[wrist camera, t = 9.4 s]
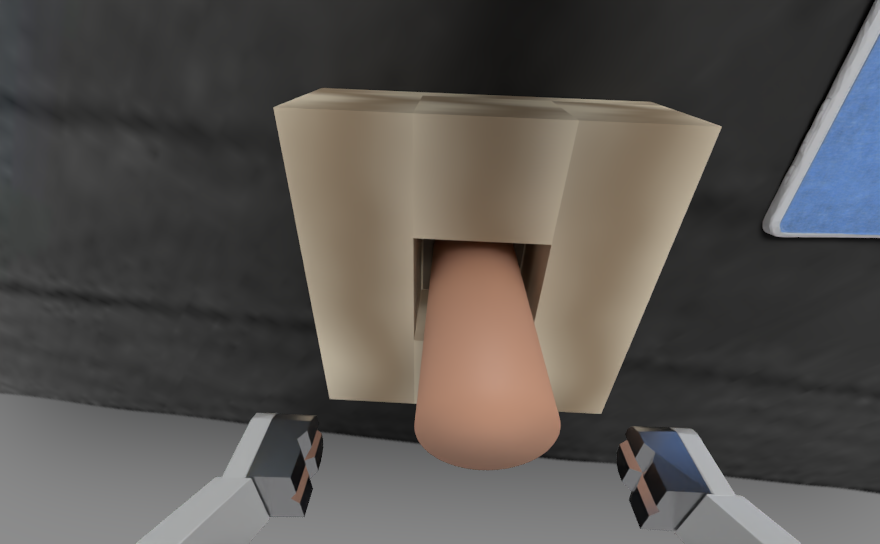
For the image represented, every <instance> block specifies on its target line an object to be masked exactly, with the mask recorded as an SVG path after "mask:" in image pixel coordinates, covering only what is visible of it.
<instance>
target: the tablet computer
mask: <svg viewBox="0 0 880 544" xmlns="http://www.w3.org/2000/svg"><path fill="white" fill-rule="evenodd" d="M762 228H763V230H764V231H765V232H766V233H768V234H771V235H774V236H776V237H838V238H846V237H848V238H880V0H875V2H874V3H873V5H872V7H871V9H870V11H869V13H868V15H867V17H866V19H865V21H864V23H863V25H862V27H861V29H860V31H859V33H858V35H857V37H856V39H855V41H854V43H853V45H852V47H851V49H850V51H849V53H848V55H847V57H846V59H845V61H844V63H843V65H842V67H841V69H840V71H839V73H838V75H837V77H836V79H835V81H834V83H833V85H832V87H831V89H830V91H829V93H828V95H827V97H826V99H825V100H824V102H823V104H822V105H821V107H820V109H819V111H818V113H817V115H816V117H815V119H814V122H813V124H812V126H811V128H810V130H809V131H808V133H807V135H806V137H805V139H804V140H803V142H802V144H801V146H800V148H799V151H798V153H797V155H796V157H795V158H794V161H793V163H792V165H791V166H790V168H789V170H788V171H787V173H786V175H785V177H784V179H783V181H782V183H781V185H780V187H779V189H778V191H777V193H776V195H775V197H774V199H773V201H772V203H771V205H770V207H769V209H768V211H767V213H766V215H765V217H764V220H763V227H762Z"/></svg>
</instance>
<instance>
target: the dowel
mask: <svg viewBox="0 0 880 544" xmlns="http://www.w3.org/2000/svg"><path fill="white" fill-rule="evenodd" d="M414 428H415V434H416V437H417V439H418V441H419V443H420V444H421V445H422V446H423V448H424V449H425V450H427V452H429V453H430V454H431V455H433V456H434V457H436V458H438V459H439V460H441V461H443V462H446V463H449V464H451V465H454V466H458V467H462V468H467V469H475V470H499V469H506V468H511V467H515V466H519V465H522V464H525V463H527V462H530V461H532V460H534V459H536V458H538V457H539V456H541V455H542V454H544V453H545V452H546V451H547V450H549V448H550V447H551V446H552V445H553V444H554V443H555V441H556V440H557V437H558V435H559V432H560V418H559V414H558V410H557V406H556V402H555V399H554V395H553V391H552V387H551V384H550V380H549V376H548V373H547V369H546V365H545V361H544V358H543V354H542V350H541V347H540V343H539V339H538V335H537V332H536V328H535V324H534V320H533V317H532V313H531V309H530V306H529V302H528V298H527V294H526V291H525V287H524V283H523V279H522V276H521V272H520V268H519V265H518V261H517V257H516V253H515V250H514V246H513V243H502V242H481V241H461V240H440V239H435V242H434V246H433V256H432V265H431V275H430V284H429V293H428V303H427V312H426V322H425V331H424V340H423V350H422V359H421V368H420V378H419V387H418V397H417V406H416V415H415V425H414Z"/></svg>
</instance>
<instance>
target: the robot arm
mask: <svg viewBox="0 0 880 544" xmlns="http://www.w3.org/2000/svg"><path fill="white" fill-rule="evenodd" d="M318 425H319V421H318V418H317V416H316V415H294V414H278V413H256V415H255V416H254V417H253V418H252V419H251V421H250V423H249V424H248V426H247V429H246V431H245V432H244V434H243V436H242V439H241V440H240V442H239V444H238V446H237V448H236V450H235V452H234V454H233V456H232V458H231V460H230V462H229V464H228V466H227V468H226V470H225V472H224V474H223V476H222V477H215V478H214V479H212V480H211V481H210V482H209V483H208V484H206V485H205V486H204V487H203V488H202V489H200V490H199V491H198V492H197V493H196V494H194V495H193V496H192V497H191V498H190V499H188V500H187V501H186V502H185V503H184V504H182V505H181V506H180V507H179V508H178V509H176V510H175V511H174V512H173V513H172V514H170V515H169V516H168V517H167V518H166V519H164V520H163V521H162V522H161V523H160V524H158V525H157V526H156V527H155V528H154V529H152V530H151V531H150V532H149V533H148V534H146V535H145V536H144V537H143V538H142V539H140V540H139V541H138V542H137V543H136V544H249V543H250V541H252V539H253V538H254V537H255V536H256V535H257V534H258V532H259V531H260V530H261V529H262V528H263V527H264V525H265V524H266V523H267V522H268V521H269V519H270V518H269V517H304V516H305V513H306V510H307V507H308V503H309V500H310V497H311V493H312V490H313V488H312V484H311V481H310V478H311V477H312V476H313V475H314V474H315V473H316V472H317V471H318V470H319V466H320V462H321V458H322V452H323V438H322V434H321V433H320V432H319V431H318V430H317V429H318ZM625 436H626V438H627V440H626V441H625V442H623V443H621V444H620V445H619V447H618V450H617V452H616V464H617V468H618V472H619V475H620V478H621V480H622V482H623V483H624V484H625V485H626V486H627V487H628V488H629V489H630V490H631V495H630V498H629V501H630V504H631V507H632V509H633V511H634V514H635V517H636V519H637V522H638V524H639V527H640V529H650V530H664V531H676V532H675V534H676V535H677V536H678V537H679V539H680V540H681V541H682V542H683V543H684V544H801V543H800V542H799V541H798V540H797V539H795V538H794V537H793V536H792V535H790V534H789V533H788V532H787V531H785V530H784V529H783V528H782V527H780V526H779V525H778V524H777V523H775V522H774V521H773V520H772V519H770V518H769V517H768V516H767V515H766V514H764V513H763V512H762V511H760V510H759V509H758V508H757V507H756V506H754V505H753V504H752V503H751V502H749V501H748V500H747V499H746V498H744V497H743V496H742V495H735V493H734V492H733V490H732V489H731V487H730V485H729V484H728V482H727V481H726V479H725V477H724V476H723V474H722V472H721V471H720V469H719V468H718V466H717V464H716V463H715V461H714V460H713V458H712V456H711V455H710V453H709V452H708V450H707V448H706V447H705V445H704V444H703V442H702V440H701V439H700V437H699V436H698V434H697V433H696V432H695V431H694V430H693V429H689V428H669V427H634V426H632V427H630V428H628V429H627V431H626V433H625Z"/></svg>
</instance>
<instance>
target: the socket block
mask: <svg viewBox="0 0 880 544" xmlns="http://www.w3.org/2000/svg"><path fill="white" fill-rule="evenodd" d="M273 108H274V113H275V118H276V123H277V129H278V134H279V139H280V144H281V149H282V154H283V160H284V165H285V170H286V175H287V180H288V185H289V191H290V196H291V201H292V206H293V211H294V217H295V222H296V227H297V232H298V237H299V242H300V248H301V253H302V258H303V263H304V268H305V274H306V279H307V284H308V289H309V294H310V299H311V305H312V310H313V315H314V320H315V325H316V331H317V336H318V341H319V346H320V351H321V356H322V362H323V367H324V372H325V377H326V382H327V387H328V393H329V398H330V399H340V400H358V401H376V402H394V403H413V404H417V397H418V387H419V378H420V368H421V359H422V350H423V340H424V331H425V322H426V312H427V303H428V293H429V284H430V275H431V265H432V256H433V246H434V242H435V239H440V240H461V241H481V242H502V243H513V246H514V250H515V253H516V257H517V261H518V265H519V268H520V272H521V276H522V279H523V283H524V287H525V291H526V294H527V298H528V302H529V306H530V309H531V313H532V317H533V320H534V324H535V328H536V332H537V335H538V339H539V343H540V347H541V350H542V354H543V358H544V361H545V365H546V369H547V373H548V376H549V380H550V384H551V387H552V391H553V395H554V399H555V402H556V406H557V410H558V411H559V412H577V413H595V414H601V413H602V410H603V408H604V406H605V403H606V401H607V398H608V396H609V394H610V391H611V389H612V387H613V384H614V382H615V379H616V377H617V375H618V372H619V370H620V368H621V365H622V363H623V360H624V358H625V356H626V353H627V351H628V349H629V346H630V344H631V341H632V339H633V337H634V334H635V332H636V330H637V327H638V325H639V322H640V320H641V318H642V315H643V313H644V311H645V308H646V306H647V303H648V301H649V299H650V296H651V294H652V292H653V289H654V287H655V284H656V282H657V280H658V277H659V275H660V272H661V270H662V268H663V265H664V263H665V261H666V258H667V256H668V253H669V251H670V249H671V246H672V244H673V242H674V239H675V237H676V234H677V232H678V230H679V227H680V225H681V223H682V220H683V218H684V215H685V213H686V211H687V208H688V206H689V204H690V201H691V199H692V196H693V194H694V192H695V189H696V187H697V185H698V182H699V180H700V177H701V175H702V173H703V170H704V168H705V166H706V163H707V161H708V158H709V156H710V154H711V151H712V149H713V147H714V144H715V142H716V139H717V137H718V135H719V132H720V130H721V128H722V126H719V125H716V124H713V123H710V122H707V121H704V120H702V119H699V118H696V117H693V116H690V115H687V114H684V113H682V112H679V111H676V110H673V109H670V108H667V107H664V106H661V105H659V104H656V103H653V102H642V101H618V100H594V99H571V98H547V97H523V96H499V95H476V94H452V93H428V92H404V91H381V90H357V89H333V88H321V89H318V90H316V91H313V92H311V93H308V94H306V95H303V96H301V97H298V98H296V99H293V100H291V101H288V102H286V103H283V104H280V105H278V106H275V107H273Z"/></svg>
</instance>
